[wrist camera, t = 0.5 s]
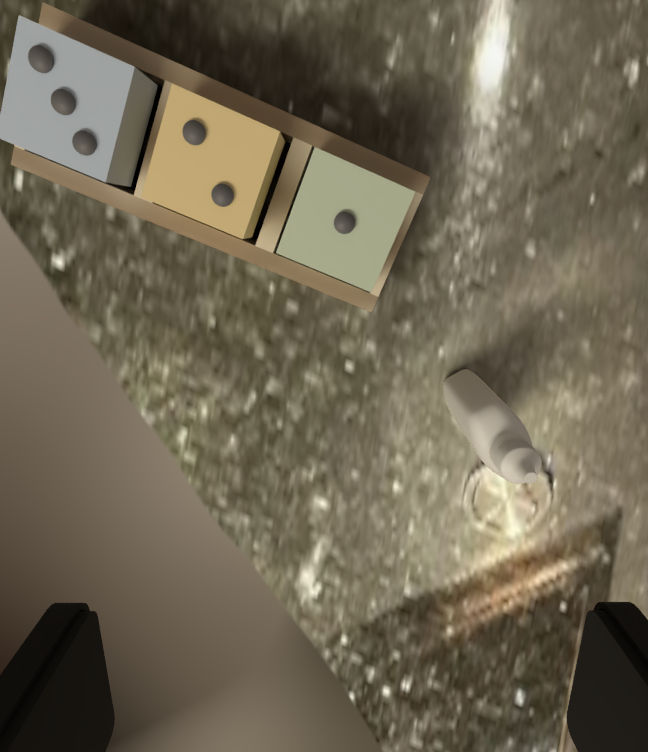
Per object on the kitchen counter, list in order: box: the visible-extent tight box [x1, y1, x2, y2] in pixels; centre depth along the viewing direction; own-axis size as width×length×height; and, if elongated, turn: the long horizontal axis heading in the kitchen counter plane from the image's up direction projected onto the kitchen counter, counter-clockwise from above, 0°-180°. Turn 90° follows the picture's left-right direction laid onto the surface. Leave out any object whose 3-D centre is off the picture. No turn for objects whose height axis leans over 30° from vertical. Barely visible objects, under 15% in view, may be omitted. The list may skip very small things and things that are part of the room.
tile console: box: [11, 3, 431, 312], centre depth 32 cm, size 9×24×4 cm, turn 68°
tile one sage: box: [276, 147, 415, 293], centre depth 29 cm, size 6×6×4 cm
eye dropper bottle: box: [443, 369, 542, 484], centre depth 33 cm, size 4×6×12 cm
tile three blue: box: [0, 16, 158, 187], centre depth 27 cm, size 6×6×4 cm
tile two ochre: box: [141, 84, 285, 239], centre depth 28 cm, size 6×6×4 cm
